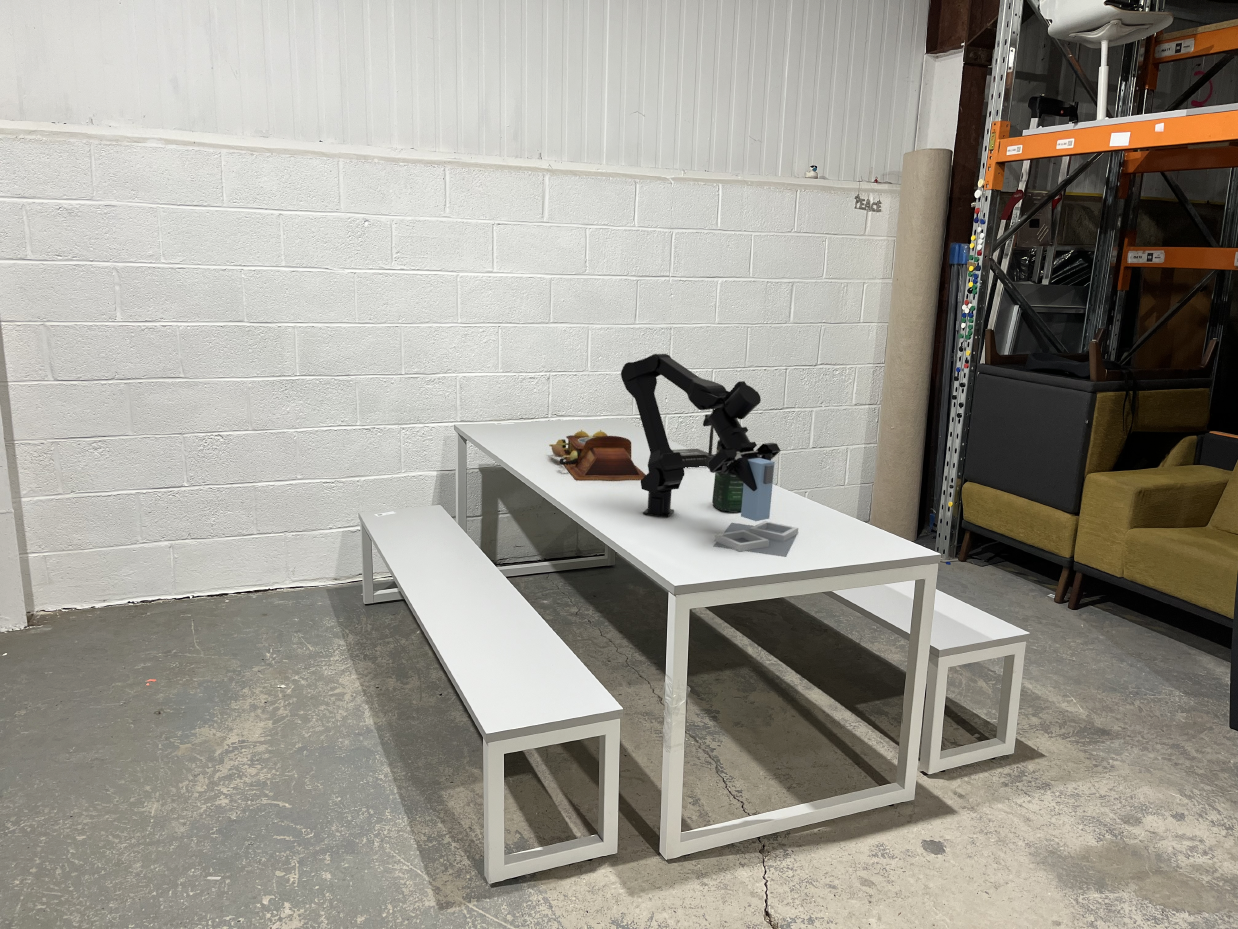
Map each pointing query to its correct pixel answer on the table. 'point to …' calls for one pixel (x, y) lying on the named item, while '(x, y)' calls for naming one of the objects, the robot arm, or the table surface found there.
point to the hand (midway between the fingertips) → (762, 488)
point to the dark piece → (696, 454)
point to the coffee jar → (727, 492)
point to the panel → (767, 550)
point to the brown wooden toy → (597, 457)
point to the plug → (758, 491)
